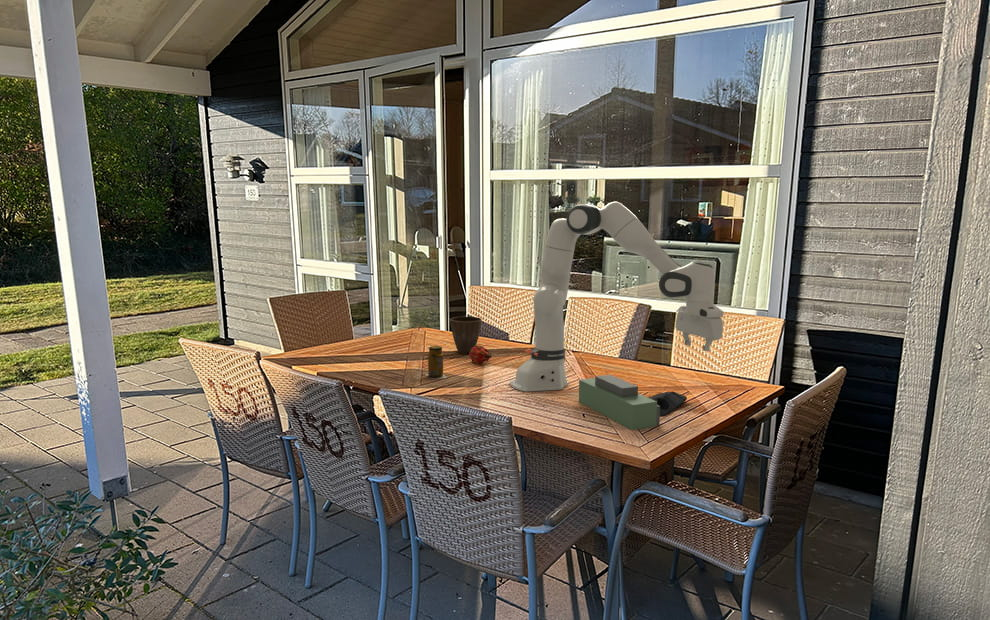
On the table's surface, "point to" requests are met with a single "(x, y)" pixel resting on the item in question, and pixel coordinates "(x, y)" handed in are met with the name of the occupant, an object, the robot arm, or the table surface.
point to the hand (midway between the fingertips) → (696, 348)
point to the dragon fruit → (479, 354)
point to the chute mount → (619, 401)
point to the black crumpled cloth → (668, 401)
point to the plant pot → (465, 332)
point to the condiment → (435, 363)
